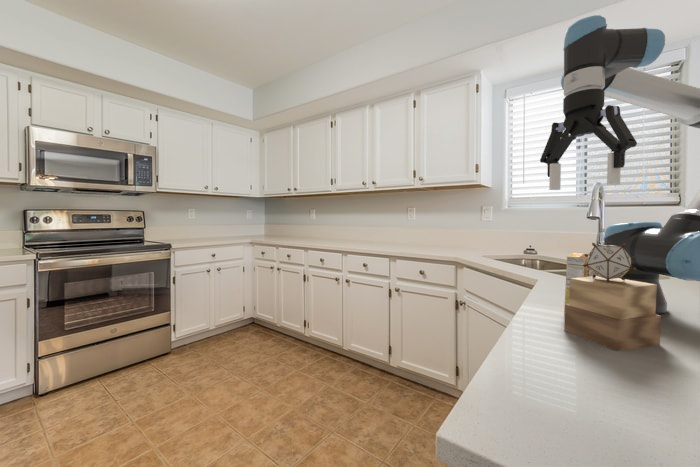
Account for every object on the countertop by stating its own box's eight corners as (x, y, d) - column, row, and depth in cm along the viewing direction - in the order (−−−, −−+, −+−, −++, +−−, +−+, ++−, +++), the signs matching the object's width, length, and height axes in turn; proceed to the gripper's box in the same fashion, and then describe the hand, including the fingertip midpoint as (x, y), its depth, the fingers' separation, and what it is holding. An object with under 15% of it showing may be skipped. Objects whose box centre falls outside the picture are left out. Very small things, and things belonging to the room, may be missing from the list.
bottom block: (603, 326, 73) (604, 300, 72) (659, 345, 62) (661, 315, 61) (564, 330, 70) (565, 304, 70) (616, 351, 59) (617, 320, 59)
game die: (620, 299, 64) (658, 264, 58) (577, 284, 66) (610, 248, 60) (606, 272, 71) (639, 238, 65) (568, 258, 73) (596, 224, 67)
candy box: (569, 308, 86) (571, 252, 86) (588, 311, 84) (590, 253, 83) (563, 315, 80) (565, 255, 79) (584, 319, 77) (586, 257, 76)
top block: (601, 301, 72) (602, 275, 71) (655, 314, 62) (656, 284, 62) (569, 305, 69) (570, 278, 68) (620, 320, 59) (622, 288, 59)
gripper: (525, 110, 82) (524, 191, 84) (635, 66, 59) (631, 181, 60) (547, 112, 85) (546, 191, 86) (662, 70, 61) (658, 181, 62)
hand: (581, 187), depth 73 cm, fingers open, 13 cm apart
